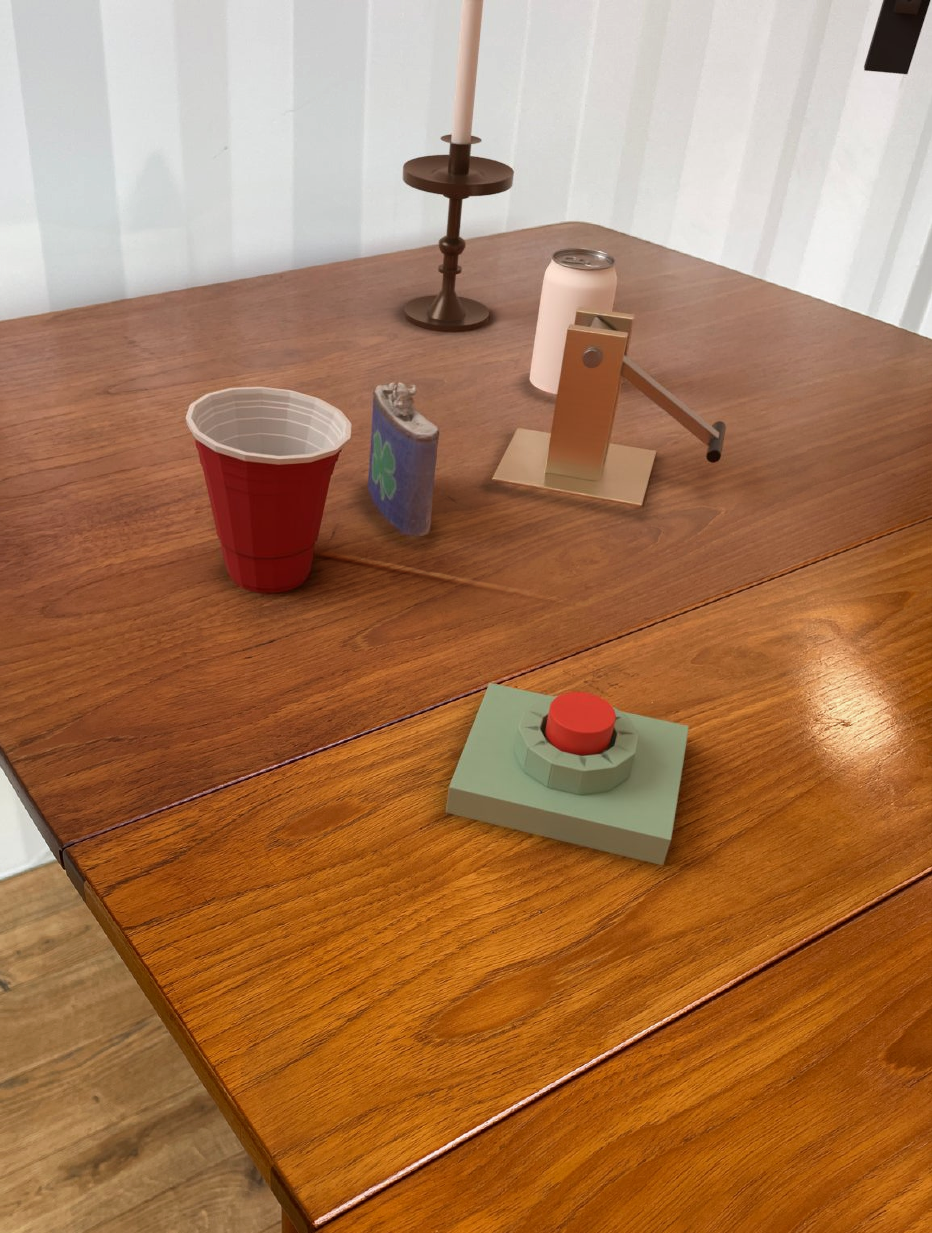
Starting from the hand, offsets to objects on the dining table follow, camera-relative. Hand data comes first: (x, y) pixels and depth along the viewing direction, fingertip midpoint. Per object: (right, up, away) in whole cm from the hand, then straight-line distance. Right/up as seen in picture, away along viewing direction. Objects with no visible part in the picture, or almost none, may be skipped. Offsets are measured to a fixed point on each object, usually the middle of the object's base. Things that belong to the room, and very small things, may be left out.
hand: (885, 69), depth 74 cm
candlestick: (-25, +2, +45) cm, 52 cm away
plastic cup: (-41, -33, +6) cm, 53 cm away
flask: (-32, -27, +13) cm, 44 cm away
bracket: (-17, -22, +19) cm, 34 cm away
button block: (-23, -47, -10) cm, 54 cm away
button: (-23, -45, -12) cm, 52 cm away
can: (-16, -11, +32) cm, 37 cm away
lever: (-13, -18, +13) cm, 25 cm away
